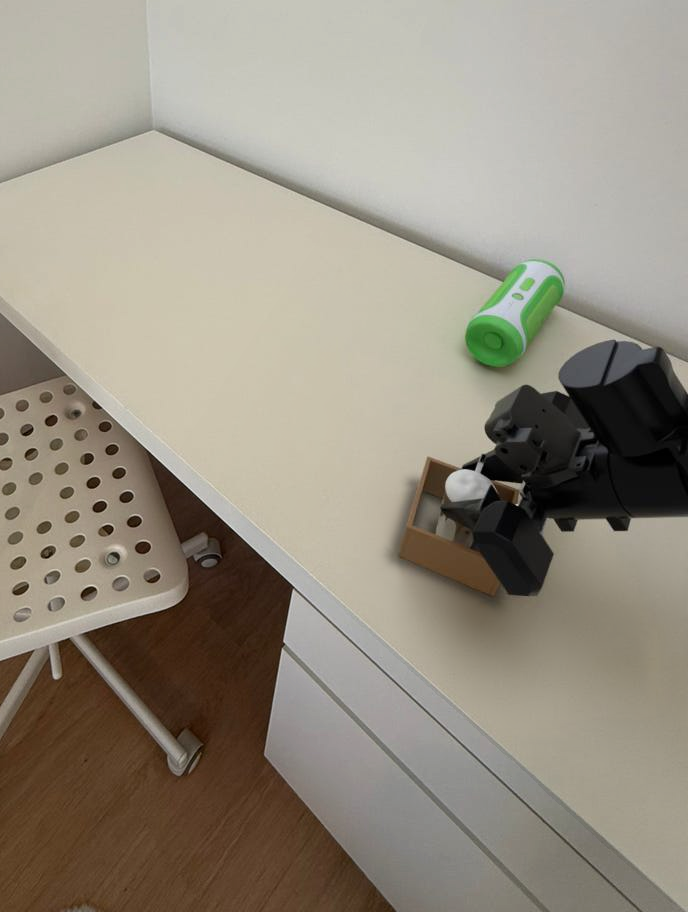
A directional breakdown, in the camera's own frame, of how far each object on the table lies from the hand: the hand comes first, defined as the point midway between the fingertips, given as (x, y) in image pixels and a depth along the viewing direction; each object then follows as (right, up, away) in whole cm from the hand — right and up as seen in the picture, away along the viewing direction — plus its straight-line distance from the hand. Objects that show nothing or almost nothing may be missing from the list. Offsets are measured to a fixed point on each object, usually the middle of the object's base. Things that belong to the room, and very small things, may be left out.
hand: (453, 490), depth 63 cm
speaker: (+17, +12, +27) cm, 35 cm away
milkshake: (+1, -6, +3) cm, 7 cm away
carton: (+1, -6, +3) cm, 7 cm away
